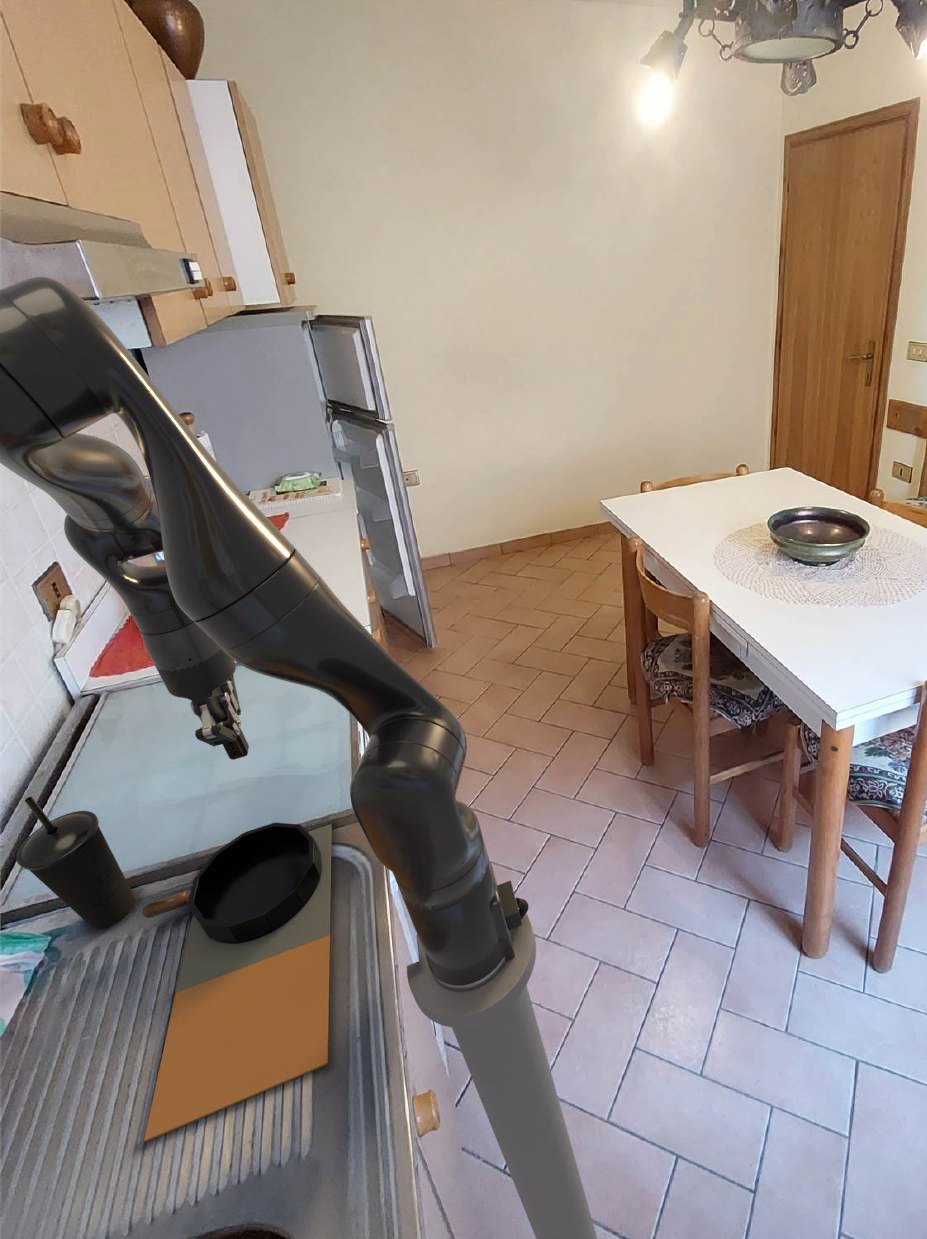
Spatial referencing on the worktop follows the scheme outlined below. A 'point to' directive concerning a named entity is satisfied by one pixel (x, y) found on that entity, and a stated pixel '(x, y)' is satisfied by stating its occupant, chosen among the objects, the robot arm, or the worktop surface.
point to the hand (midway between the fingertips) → (240, 753)
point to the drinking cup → (77, 866)
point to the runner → (247, 1013)
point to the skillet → (251, 884)
